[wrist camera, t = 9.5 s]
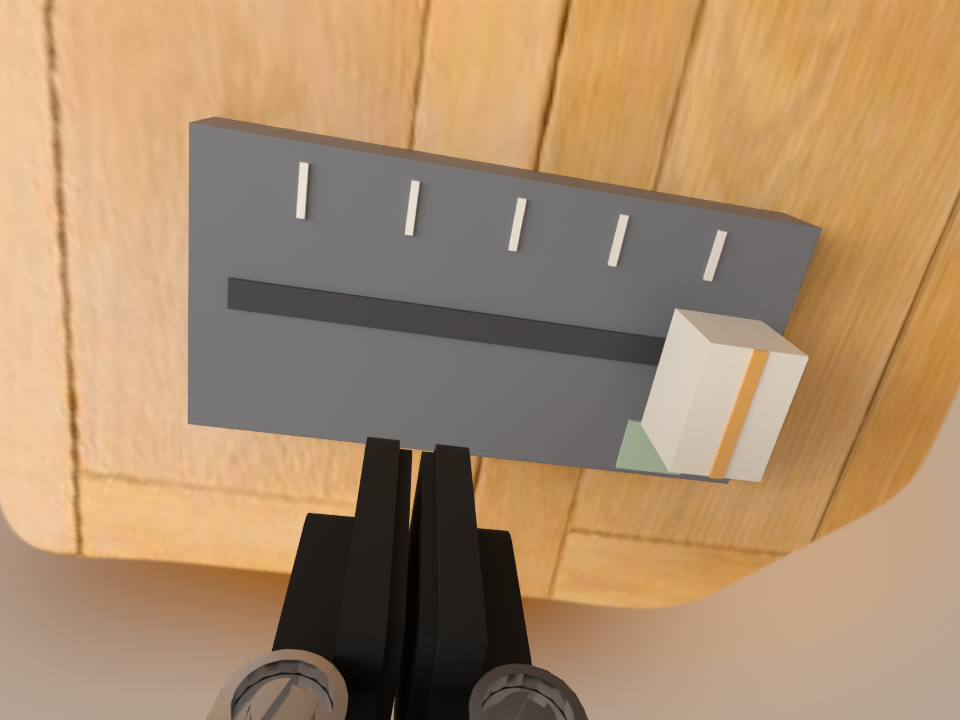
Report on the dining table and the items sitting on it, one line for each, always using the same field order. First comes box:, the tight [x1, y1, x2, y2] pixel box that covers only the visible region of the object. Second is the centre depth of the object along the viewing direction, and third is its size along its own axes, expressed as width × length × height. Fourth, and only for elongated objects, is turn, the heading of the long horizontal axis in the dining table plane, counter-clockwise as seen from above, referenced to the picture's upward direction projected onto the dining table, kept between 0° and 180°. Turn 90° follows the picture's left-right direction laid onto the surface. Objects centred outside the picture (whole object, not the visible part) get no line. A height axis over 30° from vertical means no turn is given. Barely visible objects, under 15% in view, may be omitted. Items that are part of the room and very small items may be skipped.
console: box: [188, 117, 822, 484], centre depth 29 cm, size 12×24×3 cm, turn 80°
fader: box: [641, 308, 809, 482], centre depth 25 cm, size 5×4×5 cm
